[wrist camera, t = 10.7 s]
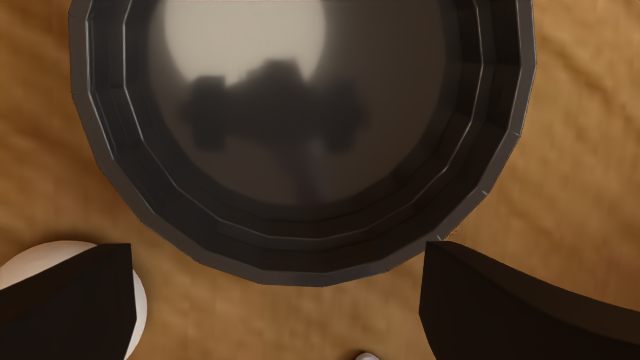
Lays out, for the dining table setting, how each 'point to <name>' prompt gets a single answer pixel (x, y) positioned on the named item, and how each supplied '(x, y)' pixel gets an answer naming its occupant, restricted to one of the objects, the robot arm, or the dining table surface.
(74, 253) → the garlic bulb
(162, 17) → the pan
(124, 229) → the dining table surface
